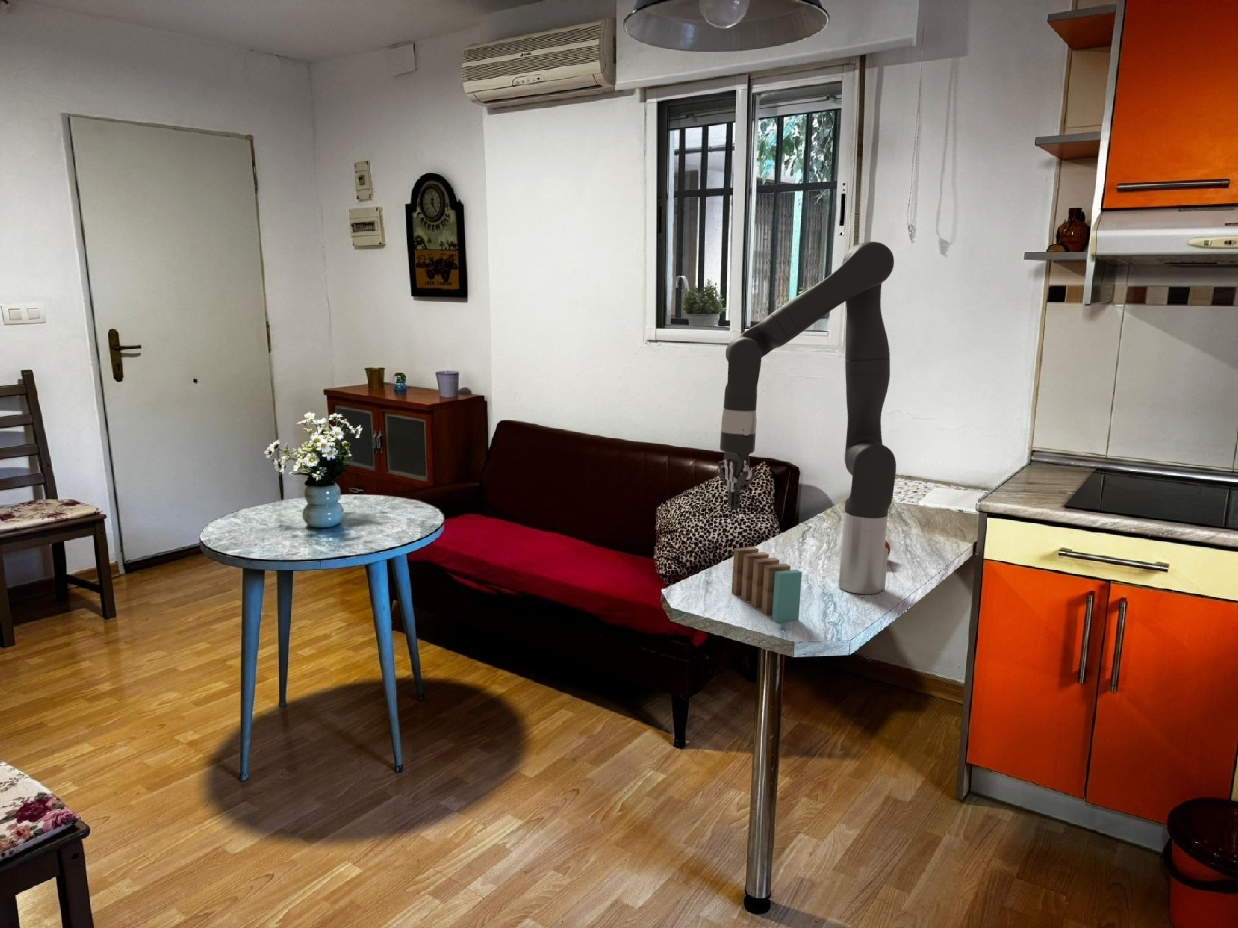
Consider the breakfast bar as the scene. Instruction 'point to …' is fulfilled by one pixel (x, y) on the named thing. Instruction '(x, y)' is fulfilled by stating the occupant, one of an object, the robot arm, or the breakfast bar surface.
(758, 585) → the domino
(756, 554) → the domino
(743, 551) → the domino
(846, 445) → the robot arm
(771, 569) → the domino
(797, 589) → the teal domino
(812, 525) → the breakfast bar surface
